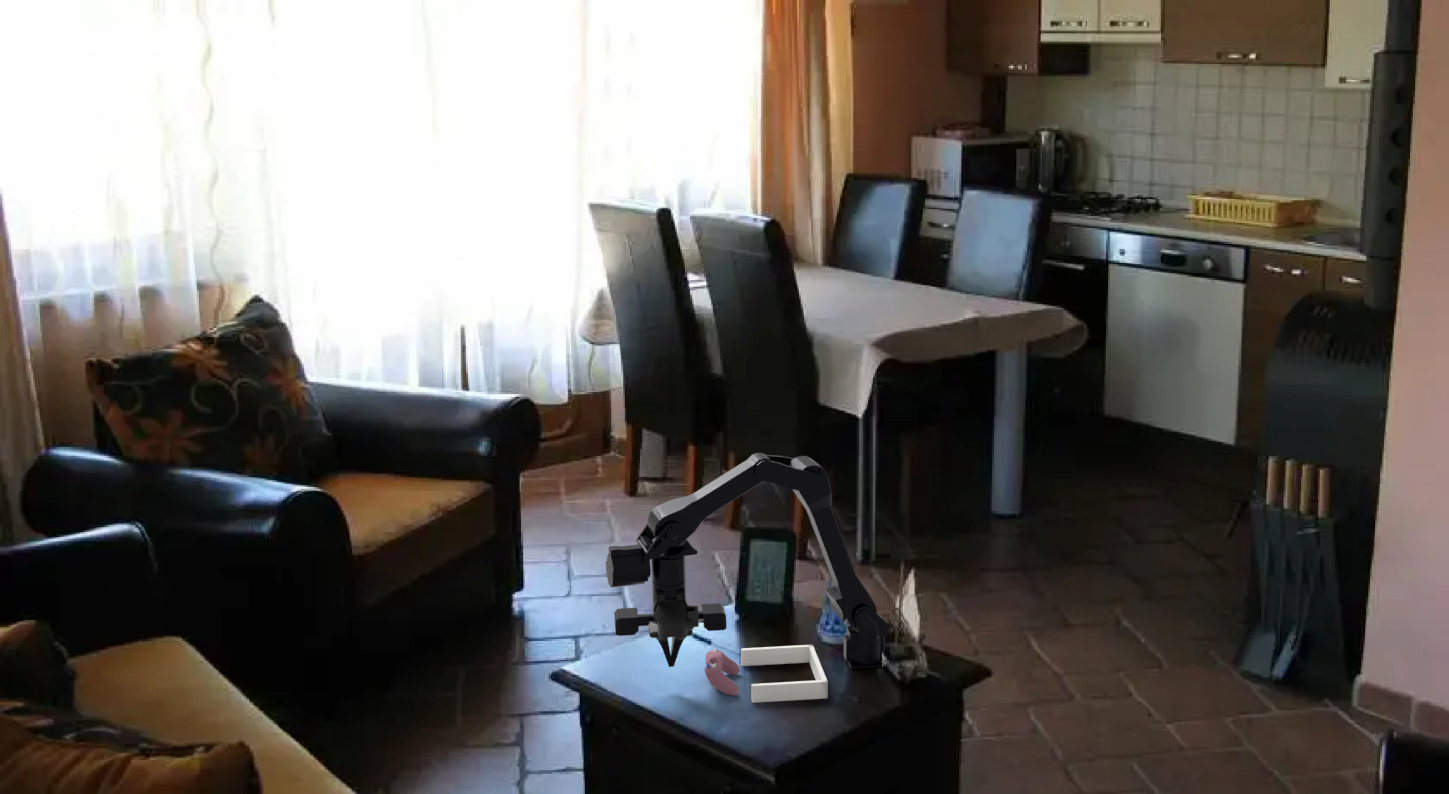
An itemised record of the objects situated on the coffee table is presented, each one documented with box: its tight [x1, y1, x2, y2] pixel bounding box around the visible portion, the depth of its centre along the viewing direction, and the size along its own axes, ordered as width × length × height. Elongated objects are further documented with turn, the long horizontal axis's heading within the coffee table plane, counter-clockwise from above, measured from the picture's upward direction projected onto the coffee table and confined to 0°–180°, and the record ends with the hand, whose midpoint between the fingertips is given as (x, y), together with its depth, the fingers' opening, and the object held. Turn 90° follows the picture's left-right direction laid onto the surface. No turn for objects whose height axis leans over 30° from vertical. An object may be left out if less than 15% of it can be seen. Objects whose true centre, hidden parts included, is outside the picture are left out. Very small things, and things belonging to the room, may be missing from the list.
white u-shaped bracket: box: [740, 644, 829, 704], centre depth 259 cm, size 13×16×3 cm
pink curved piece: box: [704, 648, 740, 697], centre depth 257 cm, size 10×5×7 cm, turn 179°
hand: (671, 666), depth 256 cm, fingers closed
